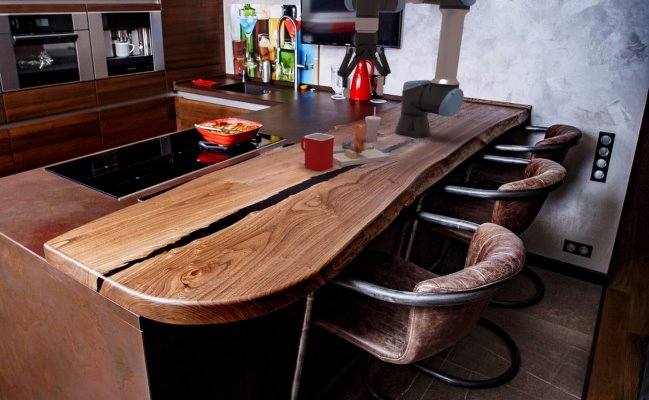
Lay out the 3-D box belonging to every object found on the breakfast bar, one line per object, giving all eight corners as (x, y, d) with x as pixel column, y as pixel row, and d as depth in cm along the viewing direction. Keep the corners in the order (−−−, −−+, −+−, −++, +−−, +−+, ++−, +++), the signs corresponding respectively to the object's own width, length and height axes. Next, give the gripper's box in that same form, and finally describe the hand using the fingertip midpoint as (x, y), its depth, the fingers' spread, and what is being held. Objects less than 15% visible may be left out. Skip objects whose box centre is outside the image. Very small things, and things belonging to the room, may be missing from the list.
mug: (335, 166, 170) (336, 136, 166) (320, 172, 164) (321, 141, 160) (308, 159, 177) (309, 130, 173) (293, 164, 170) (293, 134, 167)
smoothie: (378, 143, 201) (380, 109, 196) (363, 142, 202) (364, 108, 197) (380, 139, 207) (382, 106, 201) (364, 138, 208) (366, 105, 203)
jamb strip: (365, 148, 192) (365, 142, 192) (373, 152, 187) (374, 146, 187) (319, 154, 184) (320, 147, 183) (327, 158, 179) (327, 151, 178)
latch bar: (339, 146, 184) (340, 119, 180) (348, 145, 186) (349, 118, 182) (357, 155, 173) (359, 126, 170) (367, 154, 175) (368, 125, 172)
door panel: (374, 152, 187) (375, 143, 186) (389, 159, 179) (390, 149, 177) (328, 158, 178) (328, 148, 177) (341, 166, 170) (342, 155, 169)
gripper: (390, 30, 171) (387, 92, 179) (327, 31, 160) (326, 96, 168) (403, 31, 165) (399, 95, 173) (339, 32, 154) (337, 100, 162)
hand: (363, 96), depth 171 cm, fingers open, 13 cm apart
